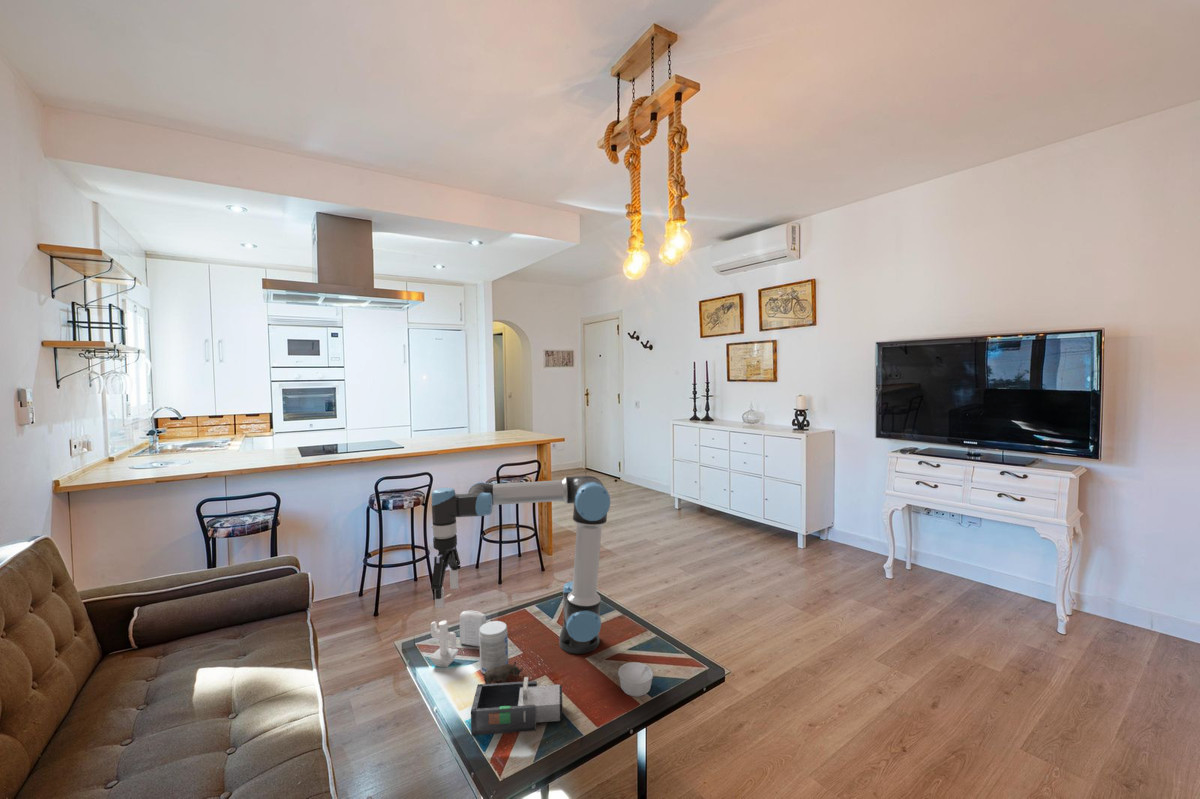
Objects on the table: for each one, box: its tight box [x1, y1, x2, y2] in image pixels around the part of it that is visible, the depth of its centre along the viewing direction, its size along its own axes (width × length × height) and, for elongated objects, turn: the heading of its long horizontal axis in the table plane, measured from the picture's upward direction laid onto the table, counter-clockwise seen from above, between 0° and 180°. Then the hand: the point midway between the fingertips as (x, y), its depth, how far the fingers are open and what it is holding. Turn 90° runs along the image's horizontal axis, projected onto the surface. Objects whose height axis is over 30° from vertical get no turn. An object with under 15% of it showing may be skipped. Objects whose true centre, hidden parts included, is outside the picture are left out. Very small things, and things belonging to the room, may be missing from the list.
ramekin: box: [617, 661, 654, 697], centre depth 159 cm, size 11×11×5 cm
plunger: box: [518, 676, 564, 723], centre depth 146 cm, size 13×9×9 cm
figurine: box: [428, 619, 460, 669], centre depth 173 cm, size 7×9×15 cm
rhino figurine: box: [483, 661, 524, 684], centre depth 162 cm, size 4×14×6 cm, turn 119°
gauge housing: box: [470, 680, 538, 736], centre depth 145 cm, size 18×12×7 cm
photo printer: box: [459, 610, 487, 647], centre depth 185 cm, size 10×4×12 cm, turn 75°
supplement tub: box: [479, 620, 509, 675], centre depth 169 cm, size 10×10×15 cm
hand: (447, 597), depth 164 cm, fingers open, 13 cm apart
